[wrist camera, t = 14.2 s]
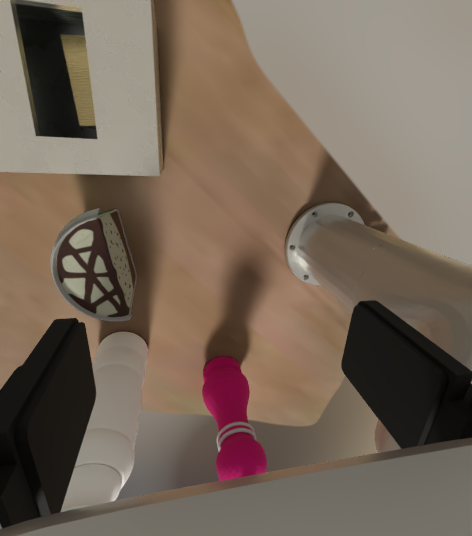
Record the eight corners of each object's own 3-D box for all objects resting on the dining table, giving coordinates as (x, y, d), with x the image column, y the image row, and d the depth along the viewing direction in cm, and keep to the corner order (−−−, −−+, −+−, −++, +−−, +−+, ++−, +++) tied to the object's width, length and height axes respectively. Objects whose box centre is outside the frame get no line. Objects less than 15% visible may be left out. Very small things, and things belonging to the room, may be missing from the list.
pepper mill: (234, 390, 51) (267, 523, 33) (194, 384, 49) (206, 523, 31) (248, 357, 49) (292, 479, 31) (208, 349, 47) (229, 476, 29)
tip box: (157, 28, 30) (148, -32, 20) (163, 168, 36) (159, 176, 26) (5, 8, 28) (-90, -71, 18) (36, 164, 33) (-25, 171, 23)
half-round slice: (61, 204, 35) (22, 223, 26) (114, 196, 36) (94, 212, 27) (94, 294, 40) (71, 337, 31) (140, 285, 41) (130, 324, 31)
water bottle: (114, 374, 45) (54, 603, 22) (89, 341, 42) (-10, 565, 19) (156, 356, 45) (139, 563, 23) (134, 321, 42) (88, 520, 20)
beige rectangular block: (91, 35, 25) (107, 125, 28) (104, 52, 30) (117, 128, 32) (60, 34, 25) (79, 125, 27) (77, 52, 29) (93, 129, 32)
